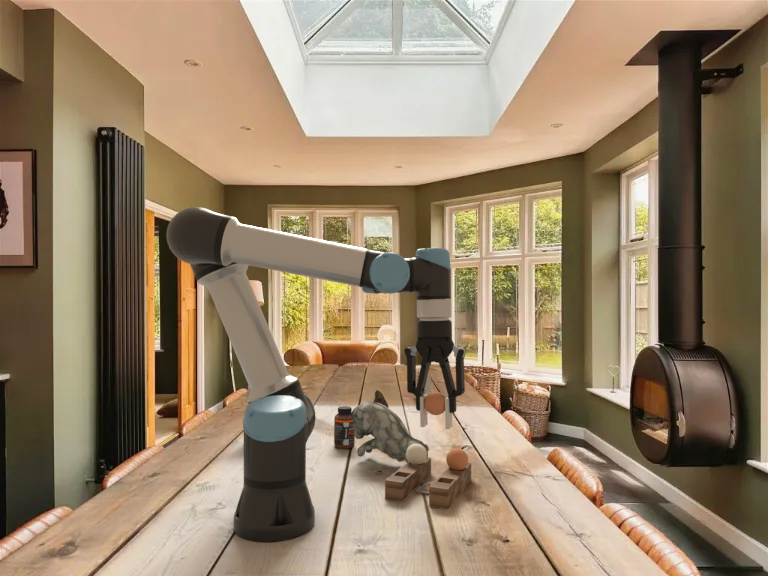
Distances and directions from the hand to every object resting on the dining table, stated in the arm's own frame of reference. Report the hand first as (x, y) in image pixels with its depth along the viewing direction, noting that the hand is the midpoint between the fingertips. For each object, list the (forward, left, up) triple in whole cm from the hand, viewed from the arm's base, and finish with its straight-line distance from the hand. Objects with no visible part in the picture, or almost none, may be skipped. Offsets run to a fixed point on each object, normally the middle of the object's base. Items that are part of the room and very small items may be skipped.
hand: (436, 426), depth 118 cm
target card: (+4, +3, -15) cm, 16 cm away
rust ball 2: (+9, -2, -9) cm, 13 cm away
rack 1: (+4, +8, -15) cm, 18 cm away
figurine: (+17, +19, -15) cm, 30 cm away
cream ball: (+9, +8, -9) cm, 15 cm away
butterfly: (+59, +39, -16) cm, 72 cm away
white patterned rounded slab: (+99, +39, -16) cm, 107 cm away
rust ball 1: (0, 0, +5) cm, 5 cm away
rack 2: (+4, -2, -15) cm, 16 cm away
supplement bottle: (+27, +37, -16) cm, 48 cm away
